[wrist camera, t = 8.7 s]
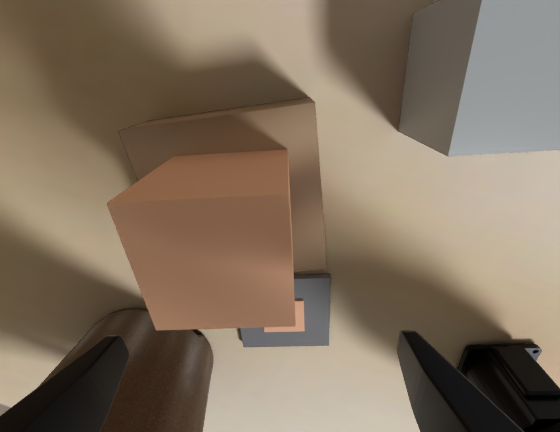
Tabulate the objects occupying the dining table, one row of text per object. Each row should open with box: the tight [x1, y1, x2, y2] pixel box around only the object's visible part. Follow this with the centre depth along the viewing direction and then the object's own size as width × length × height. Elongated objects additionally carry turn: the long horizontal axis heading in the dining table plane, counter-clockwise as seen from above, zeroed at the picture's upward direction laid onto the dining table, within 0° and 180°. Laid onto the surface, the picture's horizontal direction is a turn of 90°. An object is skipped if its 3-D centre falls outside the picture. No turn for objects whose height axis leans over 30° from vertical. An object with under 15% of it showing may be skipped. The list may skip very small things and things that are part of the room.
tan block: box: [118, 97, 327, 272], centre depth 17 cm, size 10×10×4 cm
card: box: [240, 274, 331, 347], centre depth 24 cm, size 8×8×1 cm
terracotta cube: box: [107, 149, 296, 330], centre depth 13 cm, size 6×6×6 cm
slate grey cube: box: [398, 0, 560, 156], centre depth 13 cm, size 6×6×6 cm
